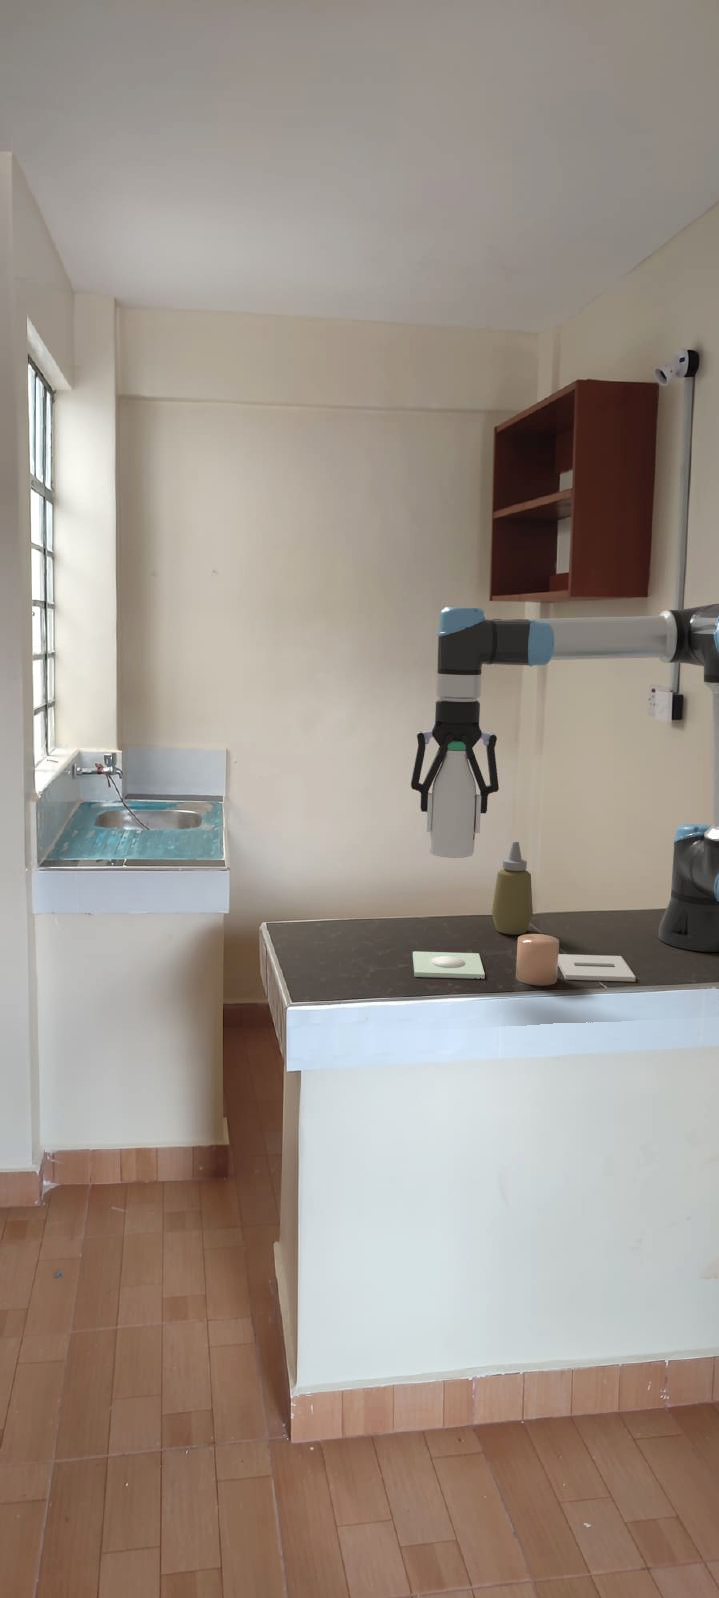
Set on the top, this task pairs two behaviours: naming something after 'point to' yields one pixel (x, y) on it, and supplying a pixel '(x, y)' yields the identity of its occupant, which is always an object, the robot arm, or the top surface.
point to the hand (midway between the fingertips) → (452, 830)
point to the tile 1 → (448, 965)
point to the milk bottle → (453, 806)
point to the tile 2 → (594, 968)
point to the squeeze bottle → (513, 895)
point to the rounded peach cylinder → (537, 959)
